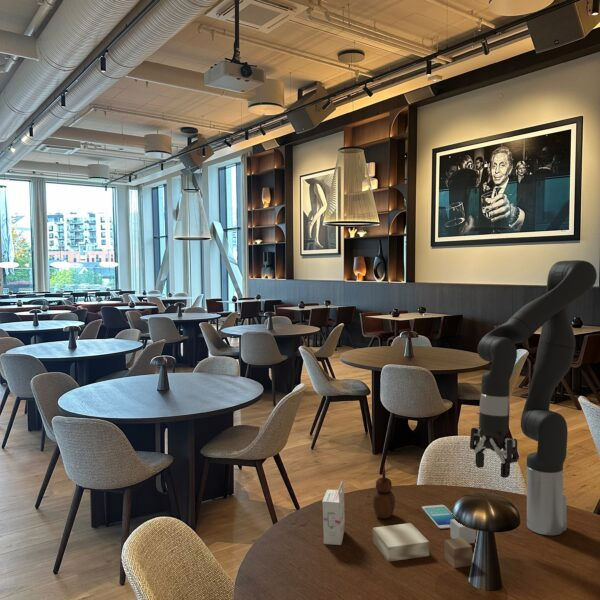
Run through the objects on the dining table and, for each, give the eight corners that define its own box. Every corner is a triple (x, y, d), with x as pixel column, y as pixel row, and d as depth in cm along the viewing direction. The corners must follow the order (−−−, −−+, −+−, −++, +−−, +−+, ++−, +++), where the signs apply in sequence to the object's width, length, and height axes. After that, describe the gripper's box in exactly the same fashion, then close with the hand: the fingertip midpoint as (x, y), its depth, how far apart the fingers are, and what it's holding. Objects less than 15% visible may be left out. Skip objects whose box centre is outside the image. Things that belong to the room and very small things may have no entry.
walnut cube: (461, 556, 138) (461, 537, 138) (471, 565, 133) (471, 546, 133) (444, 558, 137) (444, 539, 137) (453, 568, 132) (453, 549, 132)
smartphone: (444, 504, 168) (464, 525, 153) (444, 507, 168) (464, 528, 153) (420, 506, 167) (439, 527, 152) (420, 508, 167) (439, 530, 152)
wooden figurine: (380, 509, 166) (379, 461, 165) (398, 514, 162) (397, 464, 162) (369, 517, 160) (369, 467, 160) (387, 522, 157) (386, 471, 156)
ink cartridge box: (327, 529, 153) (326, 478, 153) (345, 531, 152) (344, 479, 152) (322, 544, 145) (321, 489, 144) (341, 546, 144) (340, 491, 143)
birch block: (411, 537, 149) (410, 522, 149) (429, 557, 138) (429, 541, 138) (372, 542, 146) (372, 527, 146) (388, 563, 136) (388, 547, 136)
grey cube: (466, 534, 149) (466, 517, 149) (475, 543, 144) (475, 525, 144) (450, 536, 148) (450, 519, 148) (459, 545, 143) (459, 527, 143)
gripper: (526, 416, 140) (523, 478, 141) (484, 405, 153) (482, 462, 153) (505, 418, 137) (502, 482, 137) (464, 406, 150) (462, 465, 150)
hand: (491, 472), depth 145 cm, fingers open, 8 cm apart
